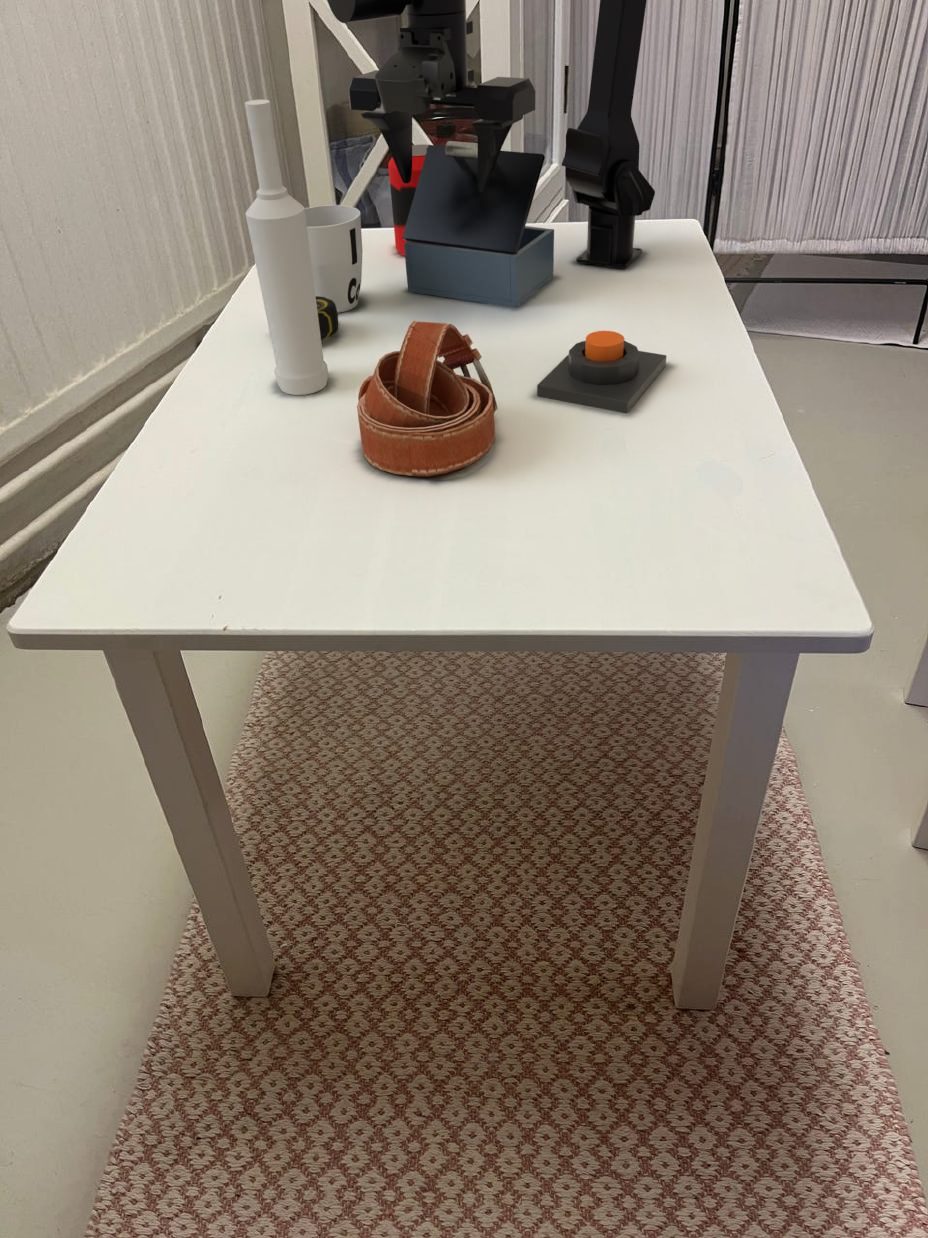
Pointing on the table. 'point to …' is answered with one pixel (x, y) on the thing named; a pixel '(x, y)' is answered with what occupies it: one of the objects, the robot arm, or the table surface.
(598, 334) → the button
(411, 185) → the soda can
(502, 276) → the storage case
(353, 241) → the cup
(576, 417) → the table surface
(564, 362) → the block
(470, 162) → the box lid
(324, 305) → the tape measure
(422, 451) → the belt
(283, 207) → the bottle
